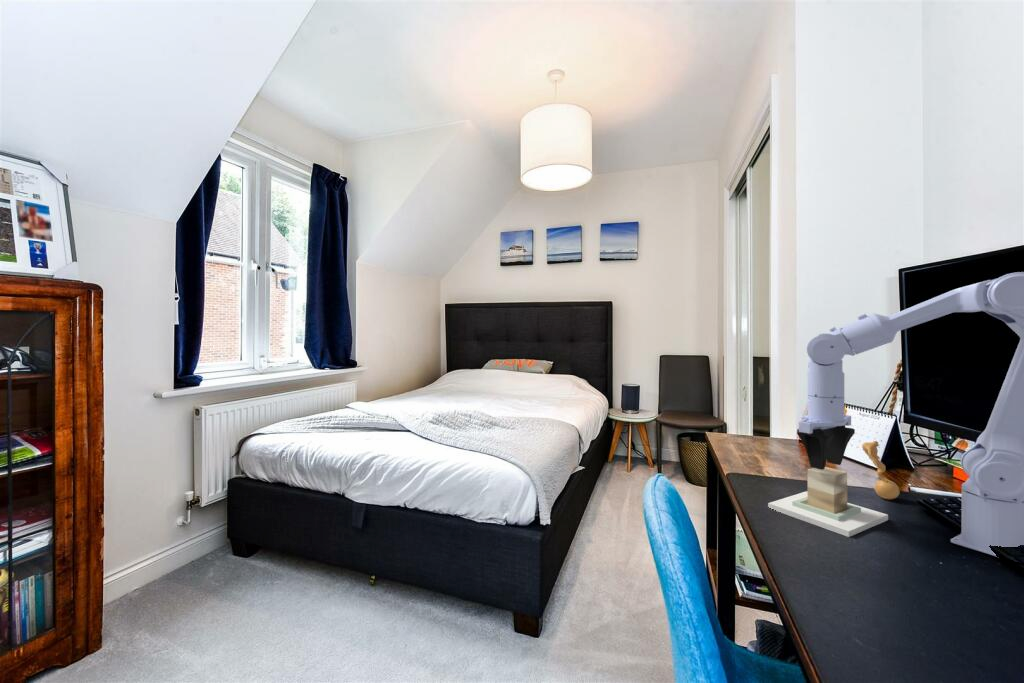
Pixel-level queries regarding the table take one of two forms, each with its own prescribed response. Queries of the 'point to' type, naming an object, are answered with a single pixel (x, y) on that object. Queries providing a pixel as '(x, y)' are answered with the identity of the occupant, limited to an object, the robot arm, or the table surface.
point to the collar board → (829, 515)
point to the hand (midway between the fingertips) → (825, 465)
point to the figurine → (884, 485)
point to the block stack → (827, 489)
